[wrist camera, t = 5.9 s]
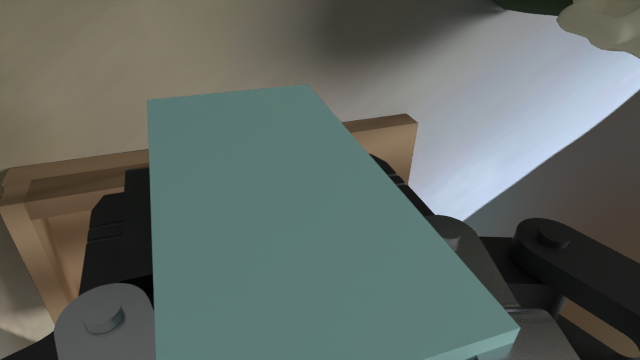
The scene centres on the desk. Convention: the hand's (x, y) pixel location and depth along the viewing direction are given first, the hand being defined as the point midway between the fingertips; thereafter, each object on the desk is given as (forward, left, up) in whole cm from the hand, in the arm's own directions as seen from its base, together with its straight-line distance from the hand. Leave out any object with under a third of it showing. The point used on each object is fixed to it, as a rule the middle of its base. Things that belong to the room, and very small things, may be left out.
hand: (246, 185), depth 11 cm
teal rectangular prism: (0, 0, -1) cm, 1 cm away
